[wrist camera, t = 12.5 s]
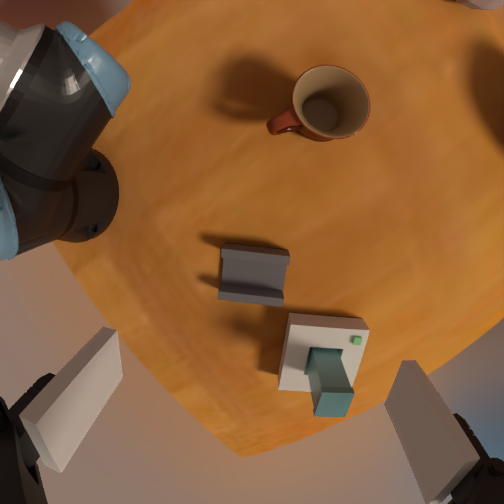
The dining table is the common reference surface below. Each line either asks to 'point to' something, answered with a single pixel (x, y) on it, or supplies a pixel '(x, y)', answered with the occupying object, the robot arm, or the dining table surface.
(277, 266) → the grey u-shaped block
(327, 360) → the plug
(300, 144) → the dining table surface
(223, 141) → the dining table surface
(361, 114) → the mug
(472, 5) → the vase
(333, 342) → the port
